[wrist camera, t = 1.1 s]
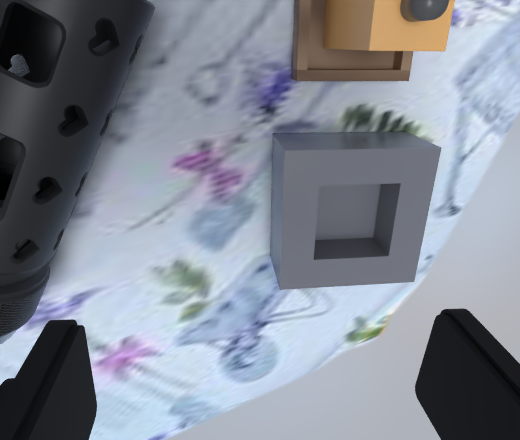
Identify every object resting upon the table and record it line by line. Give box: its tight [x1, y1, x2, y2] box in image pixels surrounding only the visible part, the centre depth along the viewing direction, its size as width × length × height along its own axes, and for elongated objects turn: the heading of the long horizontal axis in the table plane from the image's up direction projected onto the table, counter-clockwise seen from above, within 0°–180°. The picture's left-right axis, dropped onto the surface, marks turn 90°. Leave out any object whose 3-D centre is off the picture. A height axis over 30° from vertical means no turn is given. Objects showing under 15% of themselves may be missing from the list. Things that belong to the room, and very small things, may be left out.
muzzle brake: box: [0, 0, 155, 344], centre depth 28 cm, size 10×28×10 cm, turn 151°
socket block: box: [270, 131, 441, 290], centre depth 34 cm, size 12×12×6 cm
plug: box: [323, 0, 455, 51], centre depth 25 cm, size 4×4×12 cm
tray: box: [292, 0, 413, 81], centre depth 30 cm, size 9×9×2 cm
